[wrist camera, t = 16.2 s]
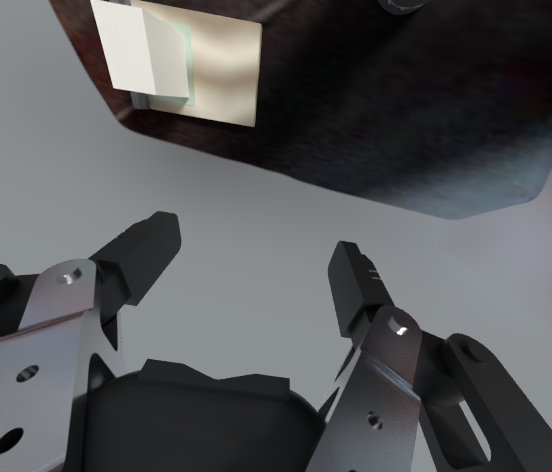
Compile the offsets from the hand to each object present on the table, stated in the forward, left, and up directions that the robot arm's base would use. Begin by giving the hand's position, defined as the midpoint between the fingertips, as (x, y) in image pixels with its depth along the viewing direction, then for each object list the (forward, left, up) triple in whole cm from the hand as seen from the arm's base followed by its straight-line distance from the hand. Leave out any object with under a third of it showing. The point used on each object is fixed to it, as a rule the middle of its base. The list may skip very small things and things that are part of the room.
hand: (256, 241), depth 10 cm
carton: (-8, -18, -28) cm, 35 cm away
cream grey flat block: (-8, -14, -30) cm, 34 cm away
